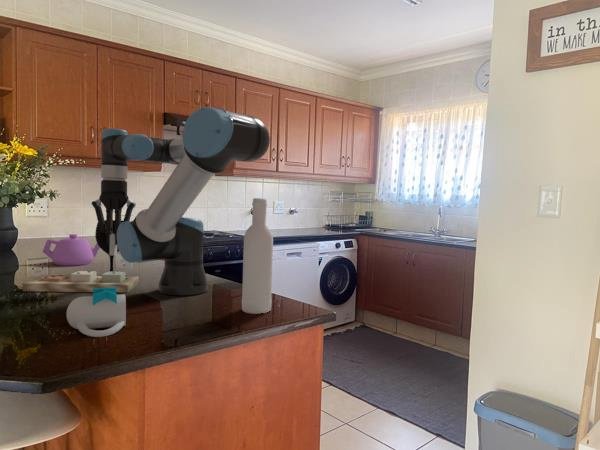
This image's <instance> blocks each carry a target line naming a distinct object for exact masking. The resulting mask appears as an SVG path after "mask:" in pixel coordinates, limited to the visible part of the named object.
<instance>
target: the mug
mask: <svg viewBox="0 0 600 450" xmlns="http://www.w3.org/2000/svg"><path fill="white" fill-rule="evenodd" d="M117 293H118V292H116V287H108V288H93V292H92V295H88V296H78V297H76V298H74V299H72V301H71V302H69V305H68V306H67V308H66V320H67V322H68V324H69V325H70V327H72V328H74V329H75V330H78V331H79V332H80V333H82V334H83V335H86V336H87V337H94V338H103V337H107V336H111V335H114V334H117V332H119V331H120V330H121V329H122V328H123V327H125V326H126V323H127V322H126V321H127V317H126V316H127V301H126V299H127V298H126V294H117ZM104 328H105V329H104ZM106 328H107V329H106ZM96 329H104V330H96Z"/></svg>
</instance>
